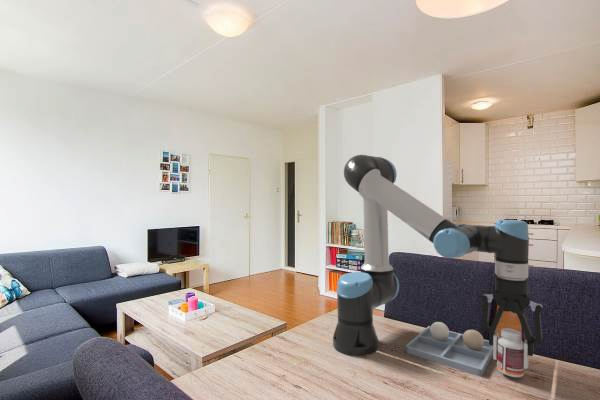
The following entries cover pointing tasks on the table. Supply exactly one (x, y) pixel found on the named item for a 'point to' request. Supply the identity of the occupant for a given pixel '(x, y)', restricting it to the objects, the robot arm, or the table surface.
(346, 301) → the robot arm
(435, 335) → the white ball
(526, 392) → the table surface
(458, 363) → the divided tray
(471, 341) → the egg brown
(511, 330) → the pill bottle
